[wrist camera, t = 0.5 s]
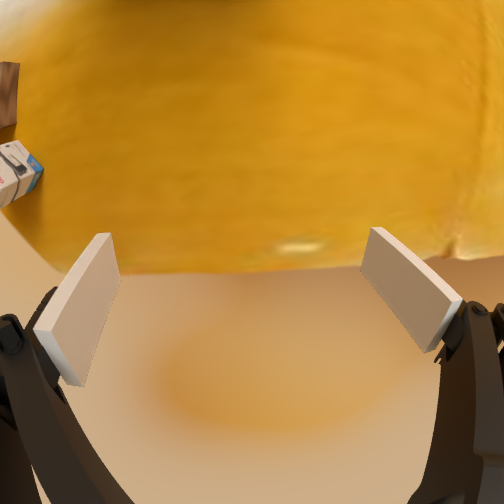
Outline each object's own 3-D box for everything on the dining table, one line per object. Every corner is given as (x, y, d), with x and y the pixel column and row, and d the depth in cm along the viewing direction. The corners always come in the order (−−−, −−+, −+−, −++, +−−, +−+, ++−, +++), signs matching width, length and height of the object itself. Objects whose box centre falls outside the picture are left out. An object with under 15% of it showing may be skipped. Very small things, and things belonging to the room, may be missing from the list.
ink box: (45, 168, 32) (2, 189, 21) (32, 190, 33) (-9, 217, 23) (18, 138, 28) (-27, 152, 18) (6, 161, 29) (-37, 180, 19)
